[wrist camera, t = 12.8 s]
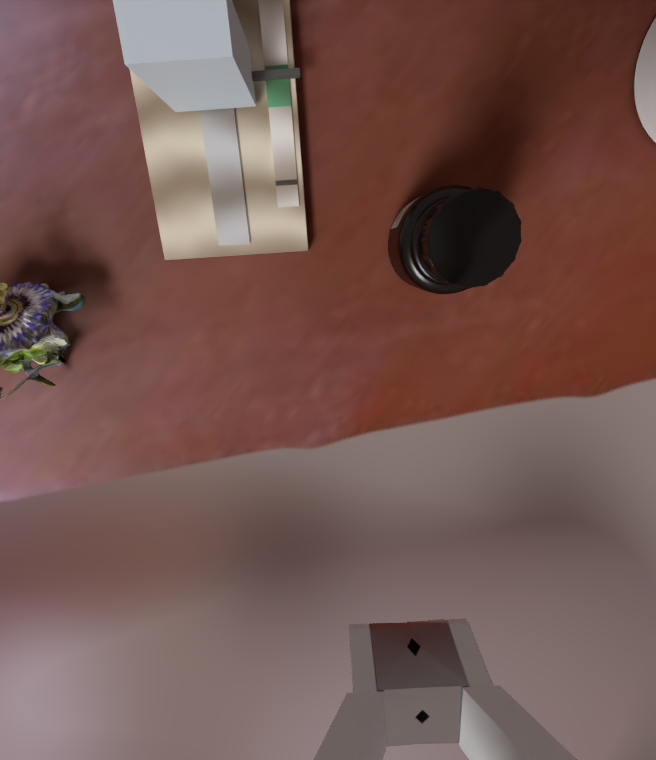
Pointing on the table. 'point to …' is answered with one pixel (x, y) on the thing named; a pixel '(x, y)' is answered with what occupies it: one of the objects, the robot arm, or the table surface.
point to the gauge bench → (231, 156)
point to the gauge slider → (191, 53)
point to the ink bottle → (454, 239)
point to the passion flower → (33, 328)
